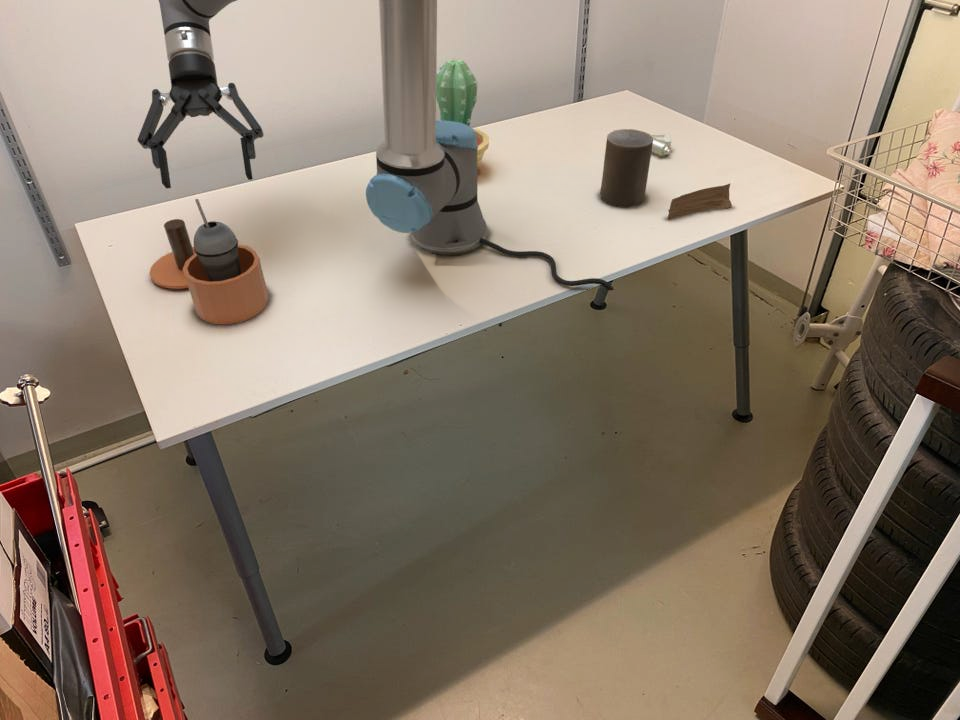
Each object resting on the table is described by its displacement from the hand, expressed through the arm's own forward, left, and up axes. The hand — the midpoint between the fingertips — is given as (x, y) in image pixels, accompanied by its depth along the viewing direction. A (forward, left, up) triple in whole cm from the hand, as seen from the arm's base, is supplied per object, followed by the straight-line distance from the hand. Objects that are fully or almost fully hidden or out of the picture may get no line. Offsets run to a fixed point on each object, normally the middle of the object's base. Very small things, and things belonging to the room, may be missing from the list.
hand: (208, 181), depth 123 cm
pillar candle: (-48, -68, -20) cm, 86 cm away
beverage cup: (-5, +6, -20) cm, 21 cm away
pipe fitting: (-45, -93, -20) cm, 106 cm away
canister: (-5, +6, -20) cm, 21 cm away
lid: (+10, +3, -19) cm, 22 cm away
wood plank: (-65, -71, -20) cm, 98 cm away
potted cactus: (-10, -59, -20) cm, 64 cm away
